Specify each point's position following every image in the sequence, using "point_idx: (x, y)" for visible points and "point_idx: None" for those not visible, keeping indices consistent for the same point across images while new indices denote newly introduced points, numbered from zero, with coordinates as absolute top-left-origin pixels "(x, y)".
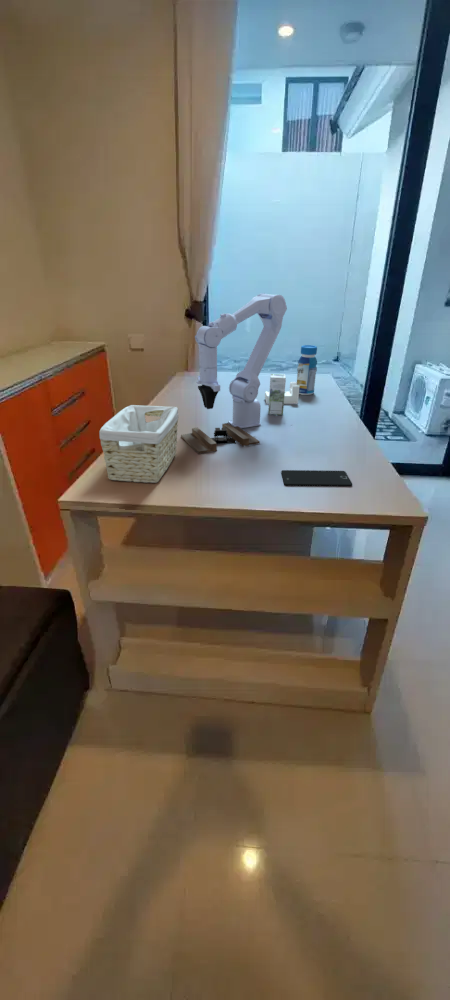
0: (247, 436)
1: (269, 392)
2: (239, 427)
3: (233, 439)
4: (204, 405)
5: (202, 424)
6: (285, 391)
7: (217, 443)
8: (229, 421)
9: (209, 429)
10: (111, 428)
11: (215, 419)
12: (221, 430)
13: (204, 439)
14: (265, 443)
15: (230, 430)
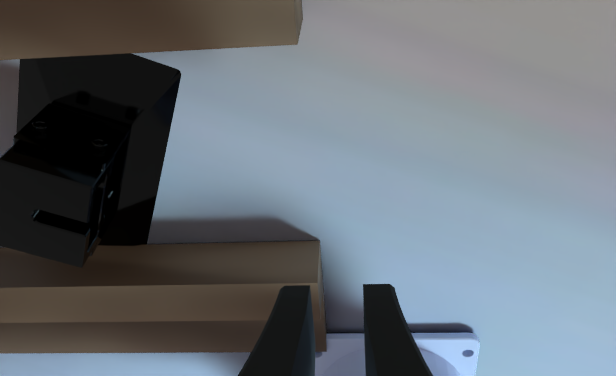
0: (99, 329)
1: None
2: None
3: (102, 242)
4: (372, 301)
5: (558, 154)
6: None
7: (25, 109)
8: (464, 343)
9: (394, 164)
10: None
11: (608, 284)
12: (5, 211)
13: None
14: (12, 363)
15: (151, 280)
